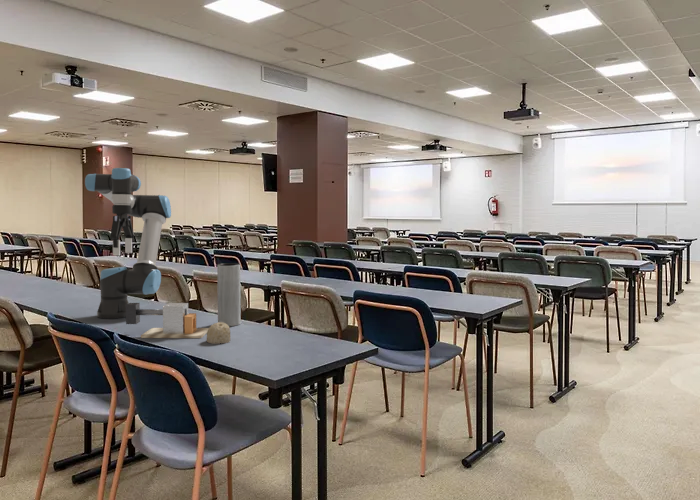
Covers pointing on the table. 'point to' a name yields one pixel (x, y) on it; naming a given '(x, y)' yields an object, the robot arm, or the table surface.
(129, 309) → the shaft
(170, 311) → the grey upright block
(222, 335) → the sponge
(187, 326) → the block
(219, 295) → the vase
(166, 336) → the board
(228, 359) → the table surface
